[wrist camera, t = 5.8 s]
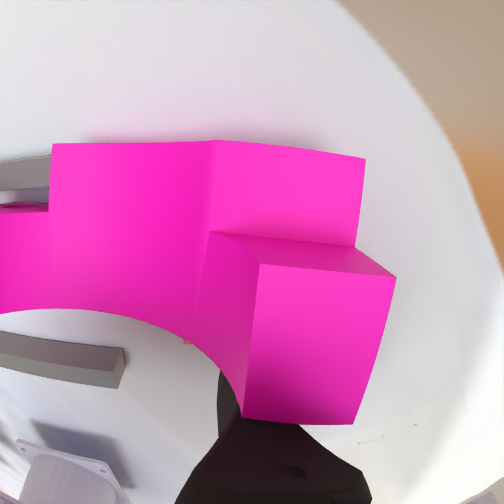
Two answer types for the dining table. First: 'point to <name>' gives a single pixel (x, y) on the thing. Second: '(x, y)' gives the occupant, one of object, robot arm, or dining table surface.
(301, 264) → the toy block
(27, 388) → the dining table surface
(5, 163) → the channel
